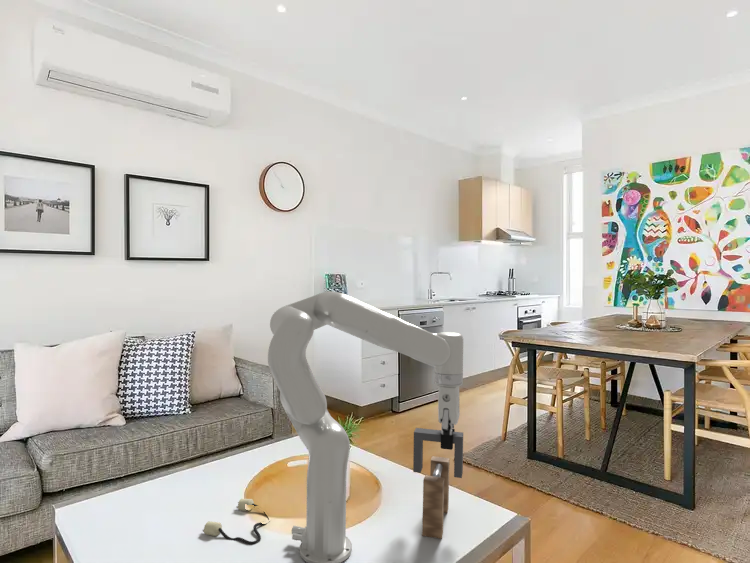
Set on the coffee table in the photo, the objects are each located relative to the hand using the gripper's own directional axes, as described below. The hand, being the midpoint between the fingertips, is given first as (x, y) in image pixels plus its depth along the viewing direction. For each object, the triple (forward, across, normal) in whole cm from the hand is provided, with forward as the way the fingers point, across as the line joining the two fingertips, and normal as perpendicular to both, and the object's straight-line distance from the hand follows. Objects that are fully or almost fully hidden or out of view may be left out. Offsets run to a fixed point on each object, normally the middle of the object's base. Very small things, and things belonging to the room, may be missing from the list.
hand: (447, 445), depth 126 cm
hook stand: (+21, 0, +3) cm, 21 cm away
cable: (+22, -16, +52) cm, 58 cm away
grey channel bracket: (+8, 0, +2) cm, 8 cm away
